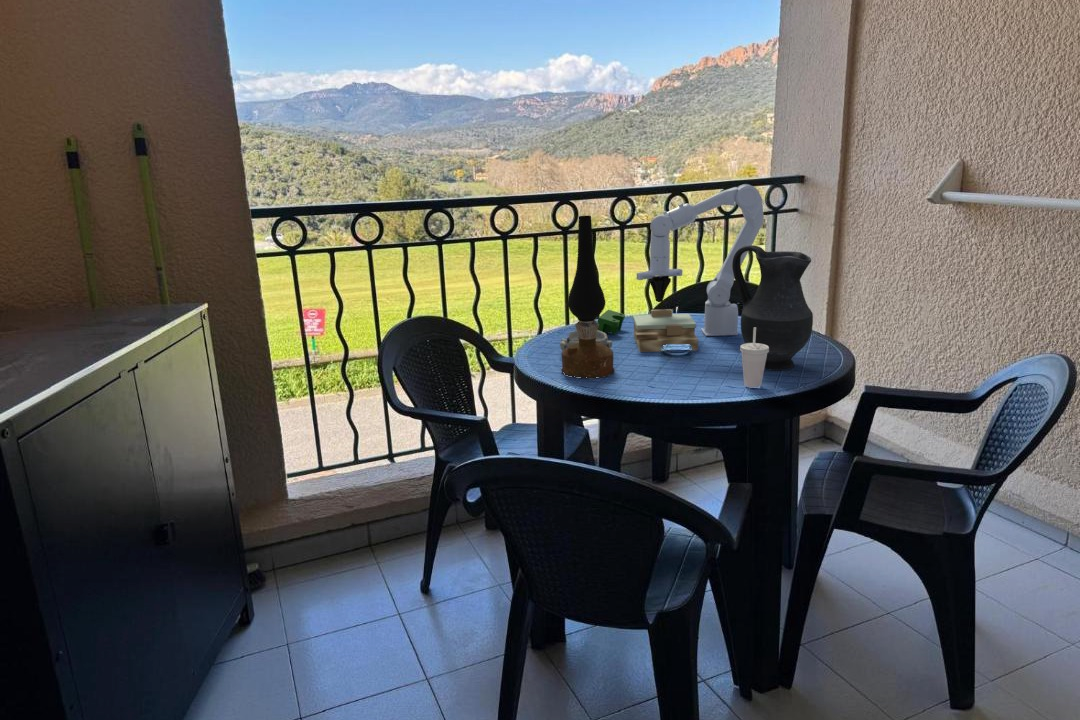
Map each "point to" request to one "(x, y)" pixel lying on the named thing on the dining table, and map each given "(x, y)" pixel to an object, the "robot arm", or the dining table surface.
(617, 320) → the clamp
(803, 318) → the pitcher
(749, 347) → the smoothie
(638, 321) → the lid
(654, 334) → the wooden block
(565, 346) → the dish
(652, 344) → the tan shallow box
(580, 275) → the oil lamp
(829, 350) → the dining table surface
